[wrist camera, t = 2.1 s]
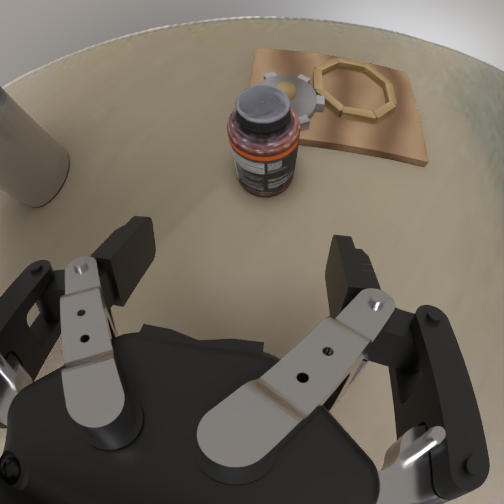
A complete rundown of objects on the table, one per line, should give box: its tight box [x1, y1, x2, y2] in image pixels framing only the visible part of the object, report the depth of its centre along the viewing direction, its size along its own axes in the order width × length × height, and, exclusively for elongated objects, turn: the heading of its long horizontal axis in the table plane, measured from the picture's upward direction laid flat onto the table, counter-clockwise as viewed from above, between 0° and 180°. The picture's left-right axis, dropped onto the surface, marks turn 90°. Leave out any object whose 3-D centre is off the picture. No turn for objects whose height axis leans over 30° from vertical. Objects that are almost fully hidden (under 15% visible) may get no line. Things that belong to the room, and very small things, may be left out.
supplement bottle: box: [227, 85, 300, 196], centre depth 24 cm, size 6×6×11 cm
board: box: [249, 48, 429, 167], centre depth 30 cm, size 22×16×4 cm
